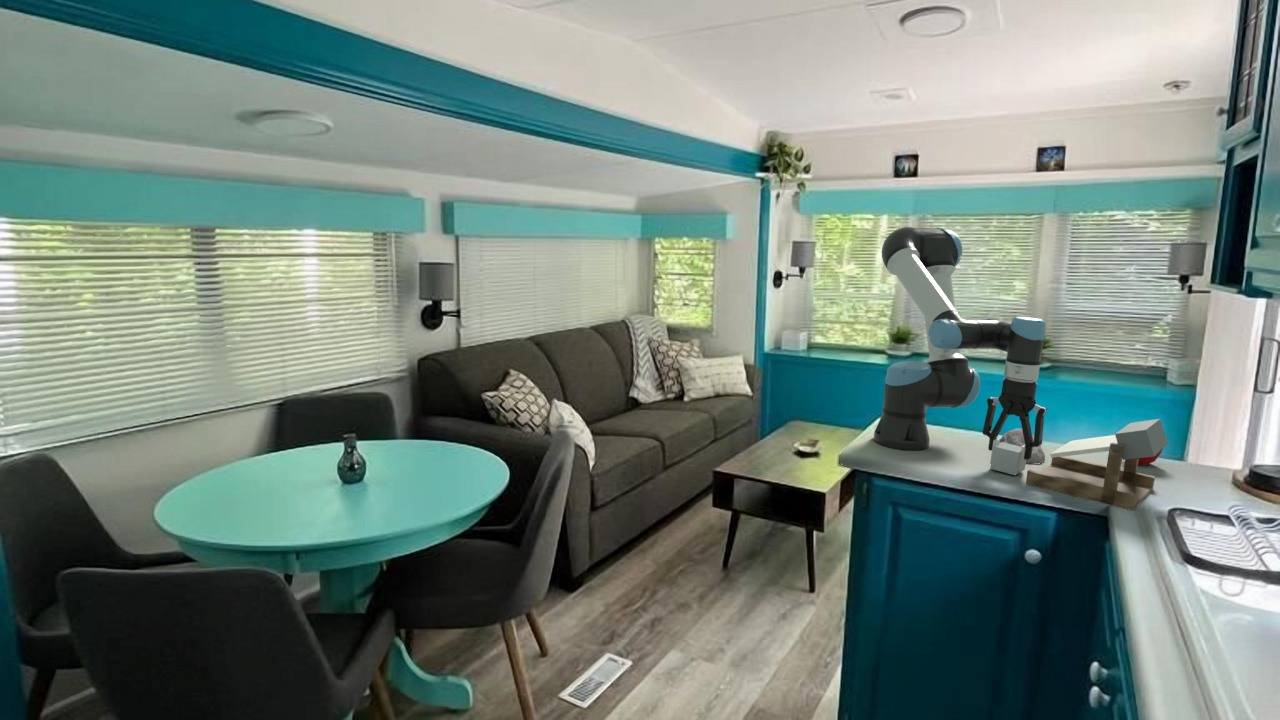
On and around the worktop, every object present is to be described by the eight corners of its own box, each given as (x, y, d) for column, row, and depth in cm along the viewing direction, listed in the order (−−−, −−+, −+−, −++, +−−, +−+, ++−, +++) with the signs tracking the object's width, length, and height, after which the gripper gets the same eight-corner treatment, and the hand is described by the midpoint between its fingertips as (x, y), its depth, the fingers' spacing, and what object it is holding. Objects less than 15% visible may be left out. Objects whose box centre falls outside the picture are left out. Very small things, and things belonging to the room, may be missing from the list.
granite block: (990, 468, 178) (993, 446, 177) (998, 463, 182) (1002, 442, 181) (1015, 475, 174) (1018, 452, 173) (1023, 470, 178) (1026, 448, 177)
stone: (1029, 484, 186) (1062, 461, 184) (1004, 457, 186) (1036, 433, 184) (1009, 464, 203) (1038, 443, 200) (986, 439, 203) (1015, 418, 200)
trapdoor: (1054, 468, 166) (1047, 443, 167) (1075, 453, 179) (1068, 431, 179) (1153, 457, 152) (1145, 430, 152) (1168, 442, 164) (1161, 418, 165)
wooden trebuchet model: (1025, 483, 169) (1033, 428, 167) (1052, 465, 184) (1060, 414, 182) (1133, 510, 154) (1143, 450, 151) (1153, 488, 169) (1162, 433, 166)
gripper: (975, 374, 177) (963, 459, 182) (1058, 388, 164) (1043, 480, 169) (986, 370, 183) (974, 454, 187) (1067, 384, 169) (1052, 474, 174)
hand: (1007, 466), depth 178 cm, fingers closed on granite block, 6 cm apart
